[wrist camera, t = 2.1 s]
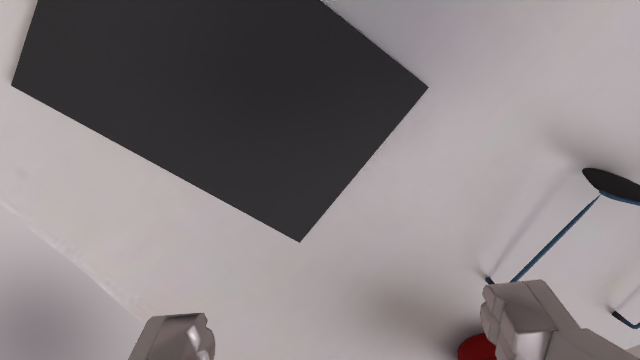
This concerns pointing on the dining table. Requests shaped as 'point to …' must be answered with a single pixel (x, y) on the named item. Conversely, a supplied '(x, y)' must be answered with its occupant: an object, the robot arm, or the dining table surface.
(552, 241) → the sunglasses
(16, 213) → the dining table surface
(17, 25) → the dining table surface
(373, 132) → the mat
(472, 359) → the plastic cup
